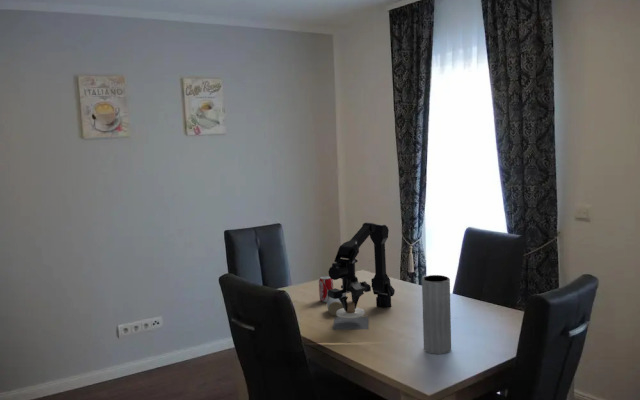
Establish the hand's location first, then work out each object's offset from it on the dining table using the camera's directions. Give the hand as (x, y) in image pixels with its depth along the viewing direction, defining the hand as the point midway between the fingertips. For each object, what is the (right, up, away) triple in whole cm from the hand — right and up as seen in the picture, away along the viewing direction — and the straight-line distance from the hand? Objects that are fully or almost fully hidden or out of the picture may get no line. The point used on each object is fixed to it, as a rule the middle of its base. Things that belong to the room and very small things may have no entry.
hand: (350, 310), depth 228 cm
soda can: (-9, -3, +36) cm, 38 cm away
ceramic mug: (-4, -5, +16) cm, 17 cm away
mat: (0, -7, +1) cm, 7 cm away
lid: (0, -2, 0) cm, 2 cm away
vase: (+31, -9, -29) cm, 43 cm away
